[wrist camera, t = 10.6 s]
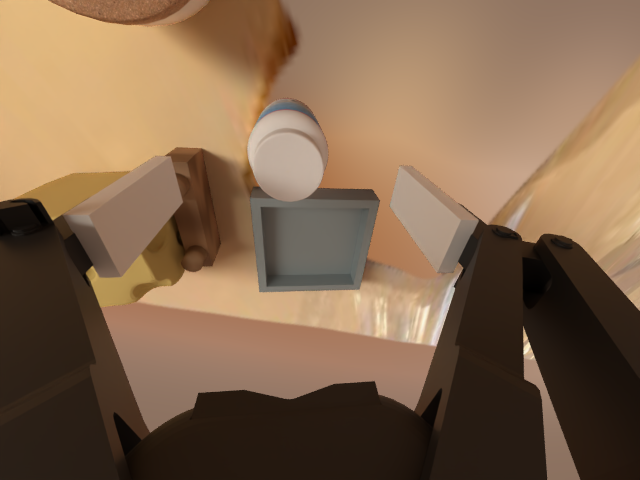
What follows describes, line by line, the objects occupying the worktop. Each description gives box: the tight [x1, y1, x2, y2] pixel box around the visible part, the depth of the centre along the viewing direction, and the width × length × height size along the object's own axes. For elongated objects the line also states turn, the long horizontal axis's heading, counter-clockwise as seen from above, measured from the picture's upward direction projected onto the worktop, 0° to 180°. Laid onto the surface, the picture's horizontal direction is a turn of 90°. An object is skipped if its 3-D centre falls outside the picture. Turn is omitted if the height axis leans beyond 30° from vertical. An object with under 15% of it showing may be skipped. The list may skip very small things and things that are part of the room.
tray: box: [250, 187, 380, 292], centre depth 32 cm, size 14×14×3 cm
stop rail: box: [165, 147, 221, 272], centre depth 26 cm, size 12×2×6 cm, turn 176°
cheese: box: [15, 172, 186, 307], centre depth 24 cm, size 10×11×10 cm
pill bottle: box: [248, 98, 328, 202], centre depth 20 cm, size 6×6×11 cm
